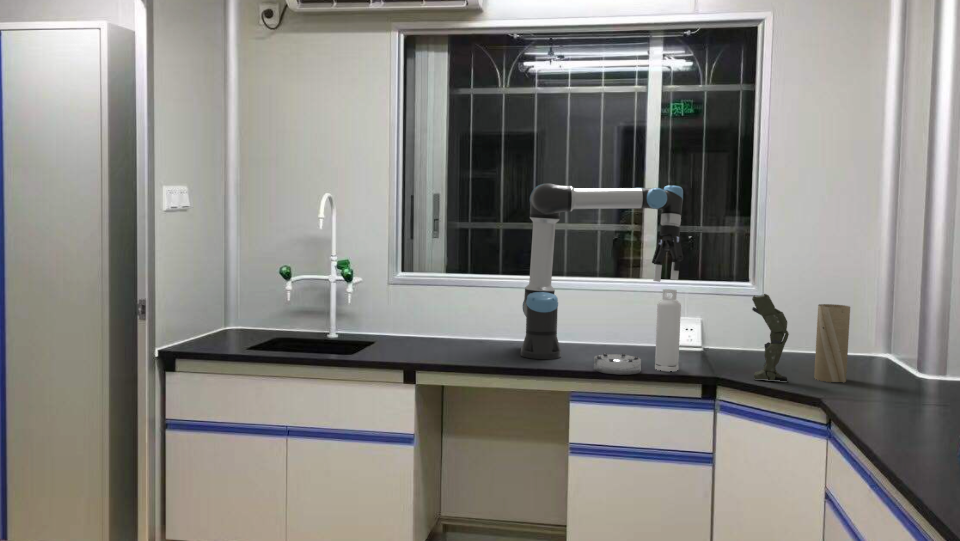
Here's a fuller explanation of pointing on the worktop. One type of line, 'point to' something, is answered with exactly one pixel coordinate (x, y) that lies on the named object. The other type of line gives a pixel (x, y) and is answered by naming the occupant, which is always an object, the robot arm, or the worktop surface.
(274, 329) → the worktop surface
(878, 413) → the worktop surface
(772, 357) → the mechanical leg
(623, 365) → the flange stand
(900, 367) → the worktop surface
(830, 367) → the tube
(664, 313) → the bottle
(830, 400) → the worktop surface
